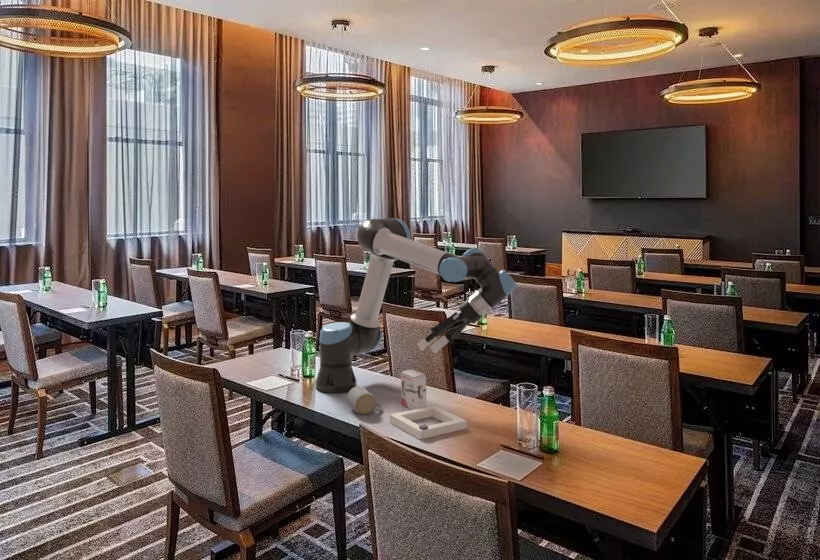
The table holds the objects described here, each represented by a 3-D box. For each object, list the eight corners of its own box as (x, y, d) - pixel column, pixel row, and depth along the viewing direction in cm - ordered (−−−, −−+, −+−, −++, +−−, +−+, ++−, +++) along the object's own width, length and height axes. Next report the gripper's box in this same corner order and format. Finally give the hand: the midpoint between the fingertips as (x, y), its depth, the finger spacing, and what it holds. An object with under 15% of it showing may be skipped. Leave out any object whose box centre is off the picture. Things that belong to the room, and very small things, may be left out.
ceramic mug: (355, 417, 197) (356, 393, 197) (346, 409, 205) (346, 387, 204) (385, 413, 202) (386, 390, 202) (375, 405, 210) (376, 383, 209)
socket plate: (389, 422, 193) (389, 411, 193) (434, 412, 202) (434, 403, 202) (420, 439, 179) (420, 428, 179) (466, 428, 188) (466, 418, 188)
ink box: (400, 404, 210) (400, 370, 209) (412, 402, 213) (412, 368, 212) (414, 412, 203) (414, 376, 202) (427, 409, 206) (427, 374, 205)
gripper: (472, 311, 189) (420, 355, 192) (490, 321, 212) (443, 359, 216) (457, 293, 192) (406, 336, 195) (476, 304, 215) (430, 343, 218)
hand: (425, 349), depth 205 cm, fingers open, 13 cm apart
